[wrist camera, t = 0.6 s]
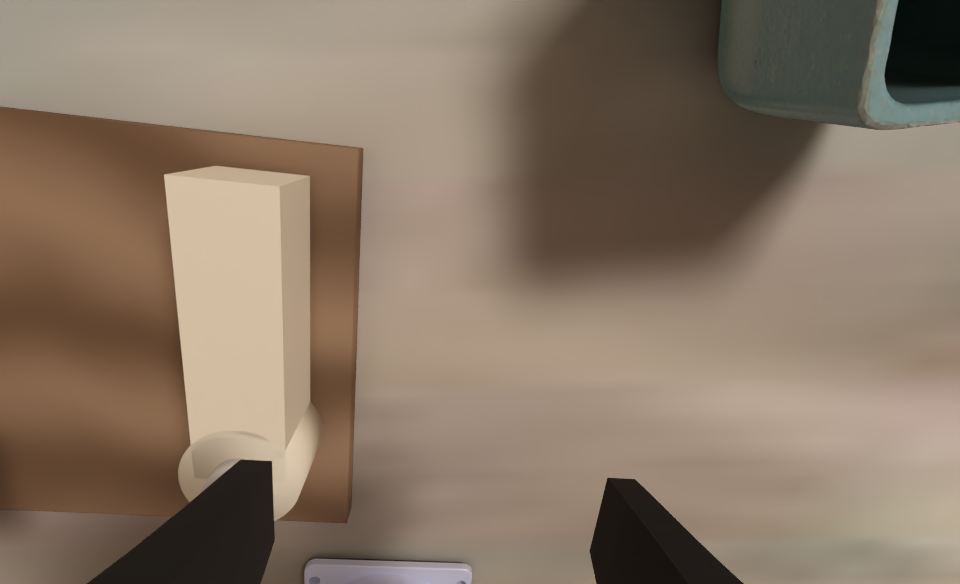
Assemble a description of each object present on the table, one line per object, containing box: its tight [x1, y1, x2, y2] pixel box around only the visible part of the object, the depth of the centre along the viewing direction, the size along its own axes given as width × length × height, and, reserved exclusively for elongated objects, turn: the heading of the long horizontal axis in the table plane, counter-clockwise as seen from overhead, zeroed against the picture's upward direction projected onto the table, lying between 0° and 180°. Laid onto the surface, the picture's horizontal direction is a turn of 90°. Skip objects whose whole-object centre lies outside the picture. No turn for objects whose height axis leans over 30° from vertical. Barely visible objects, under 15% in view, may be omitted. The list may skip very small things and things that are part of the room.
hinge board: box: [0, 107, 363, 523], centre depth 16 cm, size 16×18×6 cm
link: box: [164, 166, 323, 521], centre depth 16 cm, size 12×4×4 cm, turn 173°
